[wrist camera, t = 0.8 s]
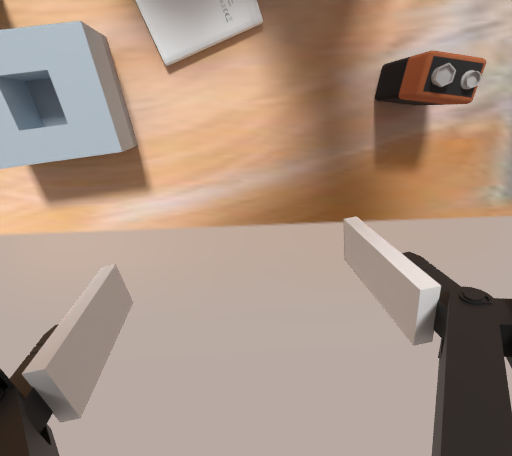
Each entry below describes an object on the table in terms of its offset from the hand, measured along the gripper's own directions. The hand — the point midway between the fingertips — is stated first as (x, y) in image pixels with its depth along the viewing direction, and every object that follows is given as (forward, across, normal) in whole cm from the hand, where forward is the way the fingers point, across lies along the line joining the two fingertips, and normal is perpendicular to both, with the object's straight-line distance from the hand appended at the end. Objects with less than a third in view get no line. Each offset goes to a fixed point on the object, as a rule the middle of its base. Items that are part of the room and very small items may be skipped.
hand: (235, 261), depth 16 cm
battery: (+25, +25, +7) cm, 36 cm away
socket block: (+25, -18, +12) cm, 33 cm away
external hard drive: (+26, +1, +19) cm, 32 cm away
